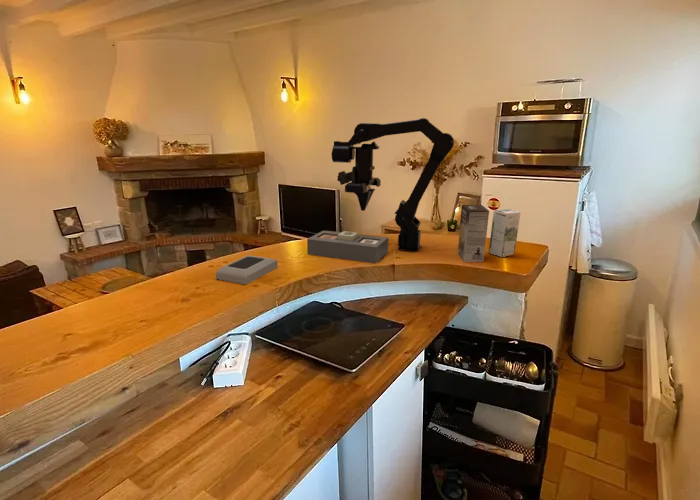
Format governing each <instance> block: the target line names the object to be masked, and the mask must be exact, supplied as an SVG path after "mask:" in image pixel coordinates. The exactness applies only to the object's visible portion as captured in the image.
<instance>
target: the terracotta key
mask: <svg viewBox="0 0 700 500" xmlns="http://www.w3.org/2000/svg"><path fill="white" fill-rule="evenodd" d="M336 237H337V236H332V235H323V236H321V237H319V238H327V239H334V238H336Z"/></svg>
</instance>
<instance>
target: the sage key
mask: <svg viewBox="0 0 700 500" xmlns="http://www.w3.org/2000/svg"><path fill="white" fill-rule="evenodd" d="M341 232H342V233H340V234H338V240H344V241H353V242H354V241H355V240H357V239H358V234H359V232H358V231H357V232H355V231H347V230H346V231H345V230H343V231H341Z"/></svg>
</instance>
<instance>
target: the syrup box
mask: <svg viewBox="0 0 700 500" xmlns="http://www.w3.org/2000/svg"><path fill="white" fill-rule="evenodd" d="M492 215H493V216H492V221H491V230H490V239H489V247H488V254H490V253H491V255H492V254H494V255H493V256H495V255H497V256H496V257H498V256H500V257H499V258H501V257H502V258H505V257H504V256H508V255H513V254H514V255H515V253H516V245H517V239H518V233H519V225H520V218H521V212H520V211H518V210H515V209H512V208H503V209H494V210H493V214H492Z"/></svg>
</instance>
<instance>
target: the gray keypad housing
mask: <svg viewBox="0 0 700 500" xmlns="http://www.w3.org/2000/svg"><path fill="white" fill-rule="evenodd" d="M342 232H343V231H341V232H340V231H331V230H322V231H320V232H317V233H315V235H312V236H310V237H308V238H307V239H306V243H307V244H306V247H307V249H306V250H307V255H310V256H319V257H325V258H332V259H342V260H347V261H348V260H350V261H355V262H356V261H357V262H364V263H371V264H372V263H373V264H377V263H378V262H379V261H380V260H381V259H382V258H384V256H386V254H388V252H389V237H387V236H379V235H370V234H369V235H368V234H361V233H360V234H359V233H358V239H357V240H355V241H354V242H353V241H344V240H338V234H340V233H342ZM323 235H332V236H337V237H336V238H334V239H327V238H319V237H321V236H323ZM364 239H368V240H377V241H378V242H377V243H376V244H370V243H361V241H362V240H364Z"/></svg>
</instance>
